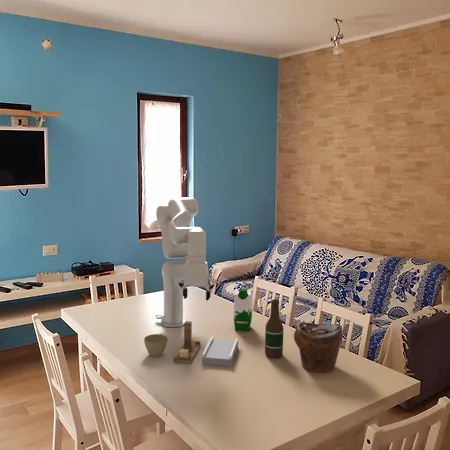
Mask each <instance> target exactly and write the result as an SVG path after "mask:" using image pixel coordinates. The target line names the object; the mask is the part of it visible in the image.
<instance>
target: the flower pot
mask: <svg viewBox="0 0 450 450" xmlns="http://www.w3.org/2000/svg"><path fill="white" fill-rule="evenodd" d="M168 340H169V338H168V336H167V335H165V334H160V333H154V334H152V333H151V334H148V335H146V336H145V337H144V338H143V342H144V347H145V348H146V349H145V350H146V352H147V353H148V354H149V356H150V357H153V358H158V357H161V356H162V355H163V354H164V352H165V350H166V348H167V345H168Z"/></svg>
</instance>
